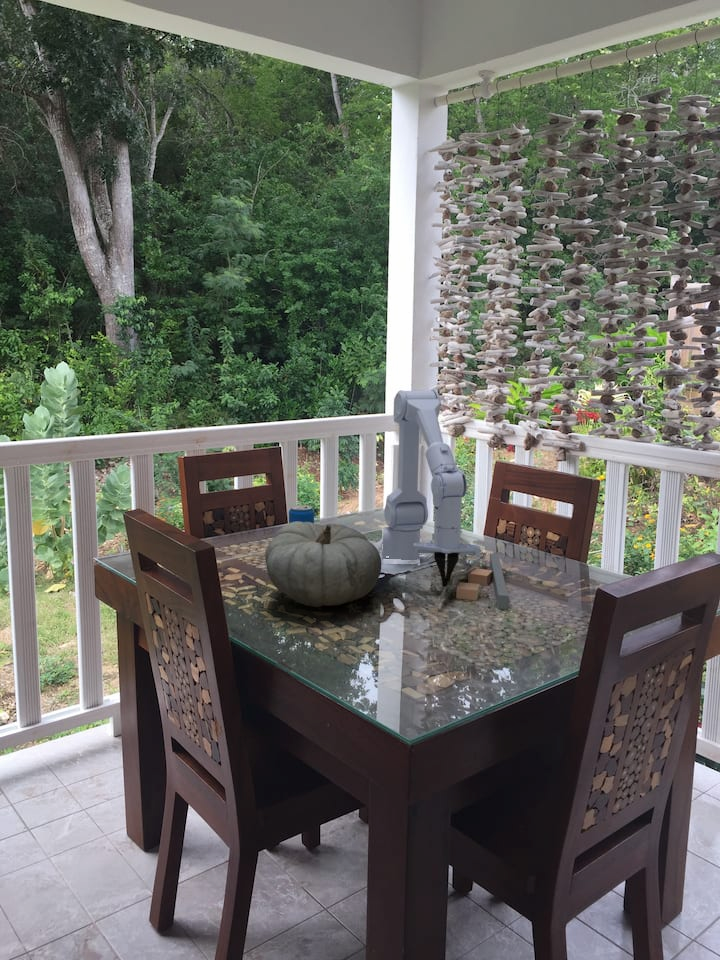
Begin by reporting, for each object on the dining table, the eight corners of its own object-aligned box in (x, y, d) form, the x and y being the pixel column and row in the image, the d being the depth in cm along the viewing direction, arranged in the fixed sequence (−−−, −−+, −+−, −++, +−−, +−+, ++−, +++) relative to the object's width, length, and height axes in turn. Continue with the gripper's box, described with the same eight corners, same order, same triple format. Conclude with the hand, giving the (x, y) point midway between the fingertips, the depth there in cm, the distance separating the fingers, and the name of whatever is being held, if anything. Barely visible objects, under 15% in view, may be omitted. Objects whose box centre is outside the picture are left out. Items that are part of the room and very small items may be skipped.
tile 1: (456, 599, 179) (456, 588, 178) (459, 593, 183) (459, 582, 182) (476, 601, 177) (477, 590, 177) (479, 595, 182) (479, 584, 181)
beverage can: (318, 551, 214) (319, 506, 211) (304, 557, 208) (304, 511, 206) (298, 547, 217) (298, 503, 215) (283, 553, 212) (283, 507, 210)
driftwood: (432, 611, 170) (448, 596, 168) (424, 603, 170) (439, 587, 168) (478, 563, 203) (492, 550, 201) (471, 556, 204) (484, 543, 202)
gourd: (298, 627, 160) (298, 541, 157) (242, 592, 180) (241, 515, 177) (401, 605, 174) (403, 525, 170) (339, 574, 194) (339, 503, 191)
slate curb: (497, 608, 172) (498, 595, 171) (489, 565, 203) (490, 553, 203) (507, 609, 172) (508, 595, 171) (497, 565, 203) (498, 554, 202)
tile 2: (467, 583, 189) (468, 573, 189) (473, 578, 193) (474, 567, 193) (486, 586, 188) (487, 575, 187) (492, 580, 192) (492, 570, 191)
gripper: (413, 529, 177) (412, 589, 179) (481, 531, 175) (479, 592, 178) (414, 521, 184) (413, 579, 186) (480, 523, 182) (477, 582, 185)
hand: (445, 585), depth 182 cm, fingers closed
